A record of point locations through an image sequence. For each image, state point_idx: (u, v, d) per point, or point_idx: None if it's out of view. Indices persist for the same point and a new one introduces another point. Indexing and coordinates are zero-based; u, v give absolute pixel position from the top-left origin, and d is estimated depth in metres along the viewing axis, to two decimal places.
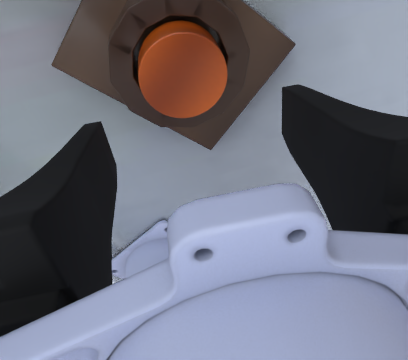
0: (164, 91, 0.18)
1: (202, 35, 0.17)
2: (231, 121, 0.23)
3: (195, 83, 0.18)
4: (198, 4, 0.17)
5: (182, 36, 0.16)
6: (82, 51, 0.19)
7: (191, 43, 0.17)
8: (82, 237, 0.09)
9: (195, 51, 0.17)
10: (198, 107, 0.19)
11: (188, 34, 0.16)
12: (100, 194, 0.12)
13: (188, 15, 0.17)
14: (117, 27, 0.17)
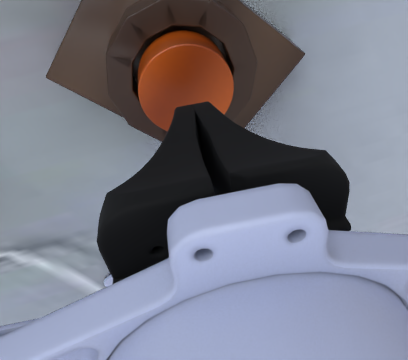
0: (166, 106, 0.17)
1: (207, 47, 0.15)
2: None
3: (199, 97, 0.17)
4: (202, 13, 0.16)
5: (185, 48, 0.15)
6: (78, 62, 0.18)
7: (194, 56, 0.15)
8: None
9: (199, 64, 0.16)
10: None
11: (192, 46, 0.15)
12: None
13: (192, 25, 0.16)
14: (115, 38, 0.16)
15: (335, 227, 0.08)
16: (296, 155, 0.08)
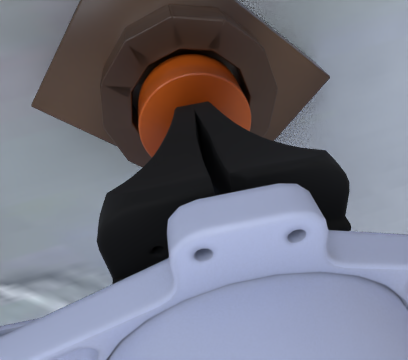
0: None
1: (221, 76, 0.13)
2: None
3: None
4: (215, 35, 0.13)
5: (195, 78, 0.13)
6: (68, 89, 0.16)
7: (206, 86, 0.13)
8: None
9: (211, 96, 0.13)
10: None
11: (203, 75, 0.13)
12: None
13: (202, 48, 0.14)
14: (111, 64, 0.14)
15: (335, 227, 0.08)
16: (296, 155, 0.08)
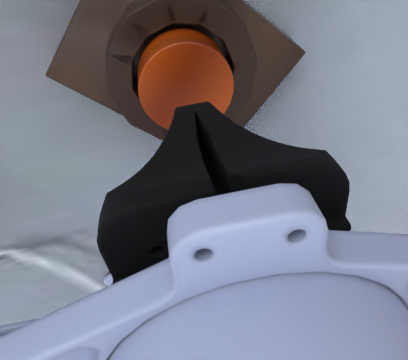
0: (166, 104, 0.17)
1: (207, 45, 0.15)
2: None
3: (199, 96, 0.17)
4: (202, 11, 0.16)
5: (185, 46, 0.15)
6: (77, 60, 0.18)
7: (195, 54, 0.15)
8: None
9: (199, 62, 0.16)
10: None
11: (192, 44, 0.15)
12: None
13: (192, 23, 0.16)
14: (115, 36, 0.16)
15: (335, 227, 0.08)
16: (296, 155, 0.08)
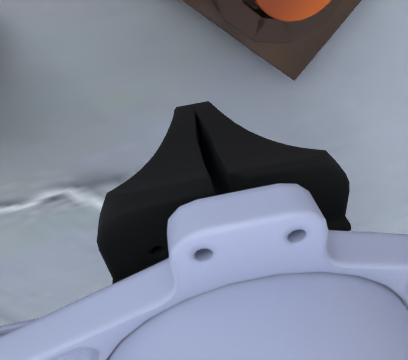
0: None
1: None
2: (321, 44, 0.21)
3: None
4: None
5: None
6: None
7: None
8: None
9: None
10: (309, 7, 0.16)
11: None
12: None
13: None
14: None
15: (335, 227, 0.08)
16: (296, 155, 0.08)
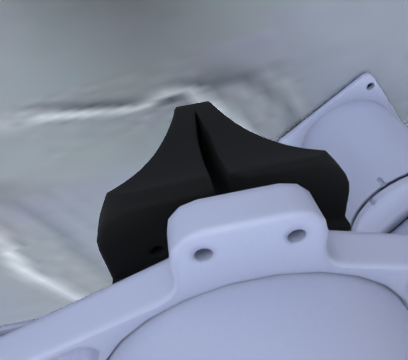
0: None
1: None
2: None
3: None
4: None
5: None
6: None
7: None
8: None
9: None
10: None
11: None
12: None
13: None
14: None
15: (335, 227, 0.08)
16: (296, 155, 0.08)
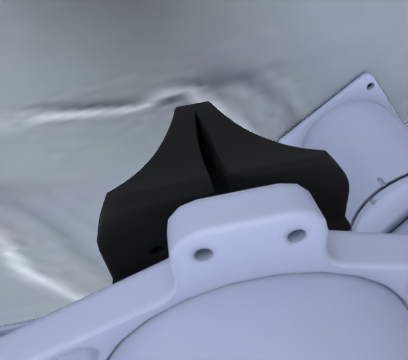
0: None
1: None
2: None
3: None
4: None
5: None
6: None
7: None
8: None
9: None
10: None
11: None
12: None
13: None
14: None
15: (335, 227, 0.08)
16: (296, 155, 0.08)
